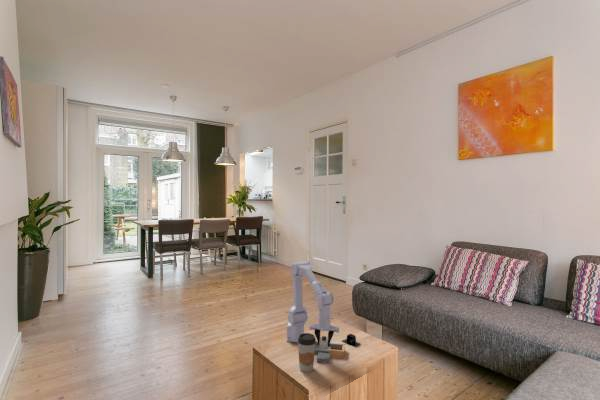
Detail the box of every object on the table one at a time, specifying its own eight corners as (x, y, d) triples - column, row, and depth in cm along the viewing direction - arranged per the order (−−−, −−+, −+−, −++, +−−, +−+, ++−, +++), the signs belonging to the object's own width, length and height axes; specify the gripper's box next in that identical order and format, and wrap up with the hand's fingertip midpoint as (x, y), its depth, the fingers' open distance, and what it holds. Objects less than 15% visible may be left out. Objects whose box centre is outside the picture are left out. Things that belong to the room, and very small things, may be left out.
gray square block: (316, 362, 153) (316, 358, 153) (318, 356, 159) (318, 352, 159) (329, 363, 152) (329, 359, 152) (330, 357, 158) (330, 353, 158)
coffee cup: (299, 374, 142) (299, 341, 142) (295, 364, 150) (296, 333, 150) (317, 372, 143) (317, 339, 143) (312, 363, 152) (313, 332, 152)
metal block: (319, 348, 154) (319, 338, 154) (320, 344, 158) (320, 334, 157) (327, 349, 153) (327, 339, 153) (328, 345, 157) (328, 335, 157)
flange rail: (310, 354, 160) (311, 348, 160) (313, 347, 168) (313, 341, 168) (343, 358, 157) (343, 351, 157) (344, 350, 165) (344, 344, 165)
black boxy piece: (338, 341, 177) (338, 333, 177) (346, 337, 182) (346, 330, 182) (356, 349, 168) (356, 341, 168) (364, 345, 173) (364, 337, 173)
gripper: (308, 319, 153) (308, 347, 153) (338, 322, 150) (338, 350, 150) (310, 314, 160) (310, 340, 160) (339, 316, 157) (339, 344, 157)
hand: (323, 345), depth 155 cm, fingers closed on metal block, 4 cm apart
